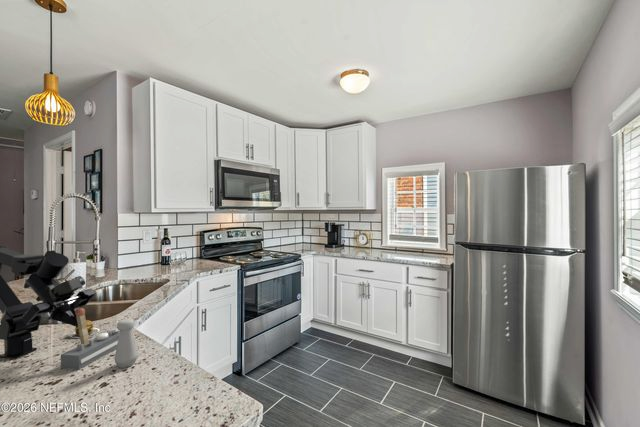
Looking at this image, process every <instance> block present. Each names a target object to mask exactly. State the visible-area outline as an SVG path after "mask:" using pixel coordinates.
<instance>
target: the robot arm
mask: <svg viewBox="0 0 640 427" xmlns="http://www.w3.org/2000/svg"><path fill="white" fill-rule="evenodd" d="M69 262H70V261H69V257H68V256H66V255H64V254H62V253H60V252H57V251H56V250H47V251H46V252H45V253H44V255H43V254H25V253H21V252H19V251H16V250H13V249H10V248H7V247H6V246H5V245H4V246H3V245H0V272H1V271H2V267H3V265H4V266H7V267H10V268H11V273H13V274H14V275H16V276H18V277H25V276H29V277H28V278H26V279H24V281H25V283H24V284H23V289H25V290H26V289H29V288H30V289H32V291H33V292H34V293H35V294H36V295H37V297H36V299H35V300H36V301H37V302H38V303H34V304H33V302H31V301H28V302H24V303H23V302H22V301H21V300H20V299H19V297H18V296H17V294H15V292H14V291H13V290H12V288H11V287H10V285H9V284H8V282H7V281H6V280H5V278H4V277H3V276H2V274H1V273H0V313H1V314H2V315H1V318H0V340H2V341H3V342H4V343H3V344H4V346H3V347H4V353H2V354H0V358H3V359H4V358H5V359H17V358H20V357H22V356H25V355H28V354H29V353H32V352H34V351H36V350H38V348H37V347H33V337H32V336H33V334H32V332H36V331H39V327H40V324H41V319H42V316H41V315H44V314H47V313H48V314H49V316H48V318H47V320H48V321H51V320H53V321H55V322H61V323H64V324H67V325H70V326H73V327H78V323H77V317H76V314H75V311H76V310H77V309H78V308H83V307H85V306H87V304H89V302H90V301H91V300H92V299H93V298H95V296H96V294H97V293H96V291H94V290H93V288H92V289H91V288H88V289H84V290H81V291H78V293H77V294H76V291H77V290H79V289H82V288H84V286H85V285H86V280H85V279H84V278H83V277H82V276H81V275H78V276H75V277H73V278H71V279H68V280H66V281H63V282H58V280H56V278H58V277H59V276H60V275H61V274H62V272H63V271H64V269H65V268H66V266H67V265H68V264H69ZM75 294H76V295H75ZM74 295H75V296H74ZM73 296H74V297H73Z"/></svg>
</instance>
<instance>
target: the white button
mask: <svg viewBox="0 0 640 427" xmlns="http://www.w3.org/2000/svg"><path fill="white" fill-rule="evenodd" d="M95 338H96V340H104V339H107V338H108V333H107V332H99V333H98V334H96V335H95Z"/></svg>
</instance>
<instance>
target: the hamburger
mask: <svg viewBox="0 0 640 427" xmlns="http://www.w3.org/2000/svg"><path fill="white" fill-rule="evenodd" d="M86 325H87V331H88V337H89V336H93V335H95V334H96V333H100V331H101V330H100V328H98V327H94V323H93V322H92V321H91V320H89V319H86ZM74 327H75V328H74V331H73V332H72V333H70V334H69V338H73V339H80V335H79V329H78V327H76V326H74ZM96 330H97V331H96ZM93 331H96V332H94V333H93ZM74 335H75V336H74ZM73 336H74V337H73Z"/></svg>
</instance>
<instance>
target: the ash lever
mask: <svg viewBox="0 0 640 427" xmlns="http://www.w3.org/2000/svg"><path fill="white" fill-rule="evenodd" d="M75 314H76V317H77V323H78V329H79V335H80V336H79V337H80V338H79V340H80V341H79V342H80V344H84V346H85V345H87V344H89V339H90V338H89V336H88V335H89V334H88V331H87V325H86V320H87V319H86V309H85V308H84V307H79V308H78V309H77V310H76V311H75Z"/></svg>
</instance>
